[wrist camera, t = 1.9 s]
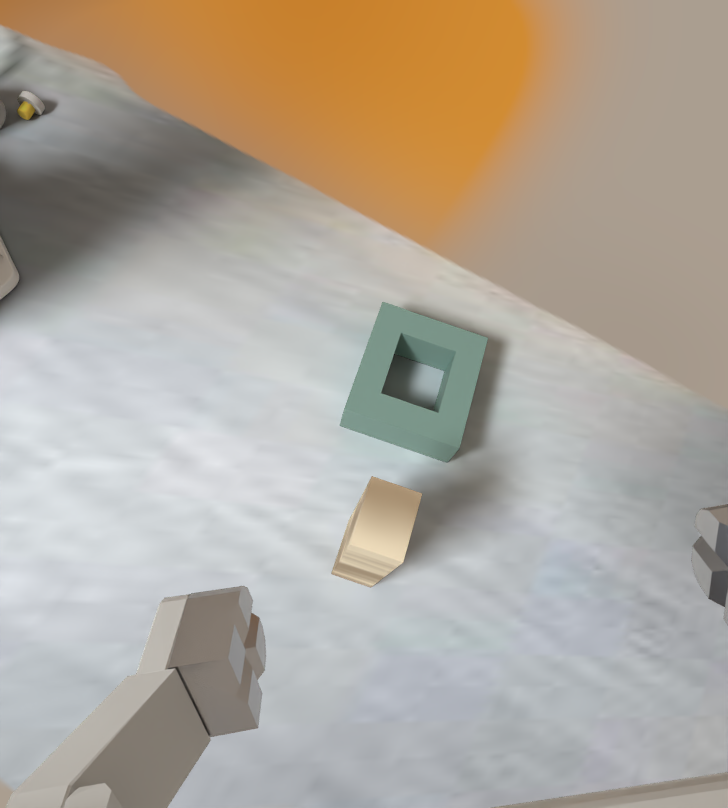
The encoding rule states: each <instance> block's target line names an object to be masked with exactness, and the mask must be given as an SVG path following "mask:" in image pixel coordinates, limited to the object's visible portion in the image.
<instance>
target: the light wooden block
mask: <svg viewBox="0 0 728 808" xmlns="http://www.w3.org/2000/svg"><path fill="white" fill-rule="evenodd" d="M421 497H422V493H419V492H416V491H413V490H410V489H408V488H405V487H402V486H399V485H396V484H393V483H390V482H387V481H384V480H381V479H378V478H376V477H373V476H372V477H371V479H370V481H369V483H368V485H367V487H366V489H365V491H364V492H363V494H362V496H361V498H360V500H359V502H358V504H357V506H356V508H355V510H354V512H353V514H352V515H351V517H350V519H349V521H348V524H347V527H346V530H345V533H344V536H343V539H342V543H341V546H340V549H339V552H338V555H337V558H336V561H335V564H334V567H333V570H332V573H331V574H333V575H336V576H339V577H342V578H345V579H347V580H350V581H353V582H356V583H359V584H362V585H365V586H368V587H372V586H373V585H375V584H376V583H377V582H379V581H380V580H381V579H383V578H384V577H385V576H386V575H388V574H389V573H390V572H392V571H393V570H394V569H395V568H397V567H398V566H399V565H401V564H402V563H403V561H404V558H405V554H406V551H407V547H408V543H409V540H410V536H411V533H412V529H413V525H414V522H415V518H416V515H417V511H418V507H419V504H420V500H421Z"/></svg>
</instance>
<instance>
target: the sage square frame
mask: <svg viewBox="0 0 728 808" xmlns="http://www.w3.org/2000/svg"><path fill="white" fill-rule="evenodd" d="M487 340H488V338H487V337H484V336H481V335H478V334H475V333H472V332H469V331H466V330H464V329H461V328H458V327H455V326H452V325H449V324H446V323H443V322H440V321H437V320H434V319H432V318H429V317H426V316H423V315H420V314H417V313H414V312H411V311H408V310H405V309H402V308H400V307H397V306H394V305H391V304H388V303H385V302H382V305H381V308H380V311H379V313H378V316H377V319H376V322H375V325H374V327H373V330H372V333H371V336H370V339H369V341H368V344H367V347H366V350H365V353H364V355H363V358H362V361H361V364H360V367H359V369H358V372H357V375H356V378H355V380H354V383H353V386H352V389H351V392H350V394H349V397H348V400H347V403H346V406H345V408H344V412H343V416H342V419H341V423H340V426H342V427H345V428H348V429H351V430H354V431H356V432H359V433H362V434H365V435H368V436H371V437H374V438H377V439H380V440H383V441H386V442H388V443H391V444H394V445H397V446H400V447H403V448H406V449H409V450H412V451H415V452H418V453H420V454H423V455H426V456H429V457H432V458H435V459H438V460H441V461H444V462H448V461H449V460H450V459H451V458H452V457H453V455H454V454H455V453H456V452H457V451H458V450H459V448H460V445H461V441H462V437H463V433H464V429H465V425H466V421H467V418H468V414H469V410H470V406H471V402H472V398H473V394H474V391H475V387H476V383H477V379H478V375H479V371H480V367H481V364H482V360H483V356H484V352H485V348H486V344H487ZM394 354H397V355H400V356H402V357H405V358H408V359H411V360H414V361H417V362H420V363H423V364H426V365H429V366H432V367H434V368H437V369H440V370H443V371H445V372H444V375H443V379H442V382H441V386H440V389H439V392H438V396H437V399H436V403H435V406H434V410H433V411H431V410H429V409H426V408H423V407H420V406H417V405H414V404H411V403H408V402H405V401H402V400H399V399H397V398H394V397H391V396H388V395H385V394H382V393H381V392H382V389H383V386H384V383H385V380H386V377H387V374H388V371H389V368H390V364H391V361H392V358H393V355H394Z"/></svg>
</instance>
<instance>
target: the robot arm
mask: <svg viewBox="0 0 728 808" xmlns="http://www.w3.org/2000/svg"><path fill="white" fill-rule="evenodd" d="M18 281H19V274H18V271H17V269H16V267H15V265H14V263H13V261H12V259H11V257H10V255H9V253H8V251H7V249H6V247H5V245H4V243H3V240H2V238H1V236H0V299H2V298H3V297H4V296H6V295H7V294H8V293H9V292H10V291H11V290H12V289H13V288H14V287H15V286H16V285H17V283H18ZM694 527H695V528H696V529H697V531H698V532H699V533H700V534H701V537H700V538H699V539H698V540H697V541H696V542H695V543H694V545H693V546H692V558H691V561H692V565H693V570H694V574H695V577H696V579H697V581H698V583H699V585H700V587H701V589H702V590H703V591H704V593H705V594H706V596H707V597H708V599H710V600H712V601H714V602H716V603H718V604H720V605H721V606H723V607H725V611H724V618H723V619H724V621H725V622H726V623H727V625H728V504H725V505H720V506H714V507H708V508H703V509H700V510H699V511H698V513H697V515H696V519H695V526H694ZM252 603H253V599H252V597H251V595H250V592H249V590H248V587H245V586H239V587H232V588H225V589H218V590H211V591H204V592H197V593H191V594H188V595H181V596H174V597H166V598H164V599H163V600H162V601H161V603H160V604H159V606H158V609H157V612H156V615H155V618H154V621H153V624H152V627H151V630H150V633H149V636H148V639H147V642H146V645H145V648H144V651H143V654H142V657H141V660H140V663H139V666H138V669H137V672H136V675H131V676H127V677H126V678H125V679H124V680H123V681H122V682H121V683H120V684H119V685H118V686H117V687H116V688H115V690H114V691H113V692H112V693H111V694H110V695H109V696H108V697H107V698H106V699H105V700H104V701H103V702H102V703H101V704H100V705H99V706H98V707H97V708H96V709H95V710H94V711H93V712H92V713H91V714H90V715H89V716H88V717H87V718H86V719H85V720H84V721H83V722H82V723H81V724H80V725H79V726H78V727H77V728H76V729H75V730H74V731H73V732H72V733H71V734H70V735H69V736H68V737H67V738H66V739H65V741H64V742H63V743H62V744H61V745H60V746H59V747H58V748H57V749H56V750H55V751H54V752H53V753H52V754H51V755H50V756H49V757H48V758H47V759H46V760H45V761H44V762H43V763H42V764H41V765H40V766H39V767H38V768H37V769H36V770H35V771H34V772H33V773H32V774H31V775H30V776H29V777H28V778H27V779H26V780H25V781H24V782H23V783H22V784H21V785H20V786H19V787H18V788H17V789H16V791H15V792H14V793H13V794H12V795H11V796H10V799H9V801H8V803H7V805H6V808H167V807H168V805H169V804H170V802H171V801H172V799H173V798H174V796H175V795H176V793H177V791H178V790H179V788H180V787H181V785H182V784H183V782H184V781H185V779H186V778H187V776H188V774H189V773H190V771H191V770H192V768H193V767H194V765H195V764H196V762H197V761H198V759H199V757H200V756H201V754H202V753H203V751H204V750H205V748H206V747H207V745H208V744H209V742H210V737H214V736H219V735H224V734H230V733H235V732H240V731H245V730H251V729H256V728H258V725H259V716H260V708H261V699H262V691H261V688H260V686H259V683H258V681H257V680H258V679H259V677H260V676H261V675H262V673H263V672H264V671H265V662H266V645H265V636H264V631H263V627H262V624H261V621H260V618H259V617H258V616H256V615H254V614H253V613H251V610H252ZM492 808H728V772H725V773H718V774H712V775H705V776H698V777H692V778H685V779H678V780H672V781H665V782H659V783H652V784H645V785H639V786H632V787H625V788H619V789H612V790H606V791H599V792H592V793H586V794H579V795H572V796H566V797H559V798H552V799H546V800H539V801H532V802H526V803H519V804H512V805H506V806H499V807H492Z"/></svg>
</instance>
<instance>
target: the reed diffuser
mask: <svg viewBox="0 0 728 808" xmlns="http://www.w3.org/2000/svg"><path fill="white" fill-rule="evenodd" d="M18 102H19V103H20V107H19V108H18V110H17V112H18V114H19V115H20V116H21V117H22V118H23V119H26V120H29V119H30V118H31V116H32V115H33V114H34V113H36V114H38V115H41V114H42V113H43V111H44V110H45V106H44V104H43V103H42V101H41V100H40V99H39V98H38V97H37V96H35V95H34V94H32V93H30V92H28V91H22V93H21V94H20V95H19V97H18ZM5 118H6V109H5V106H4V104H3V103H2V101H1V100H0V128H1V127H2V125H3V124H4V121H5Z"/></svg>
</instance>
